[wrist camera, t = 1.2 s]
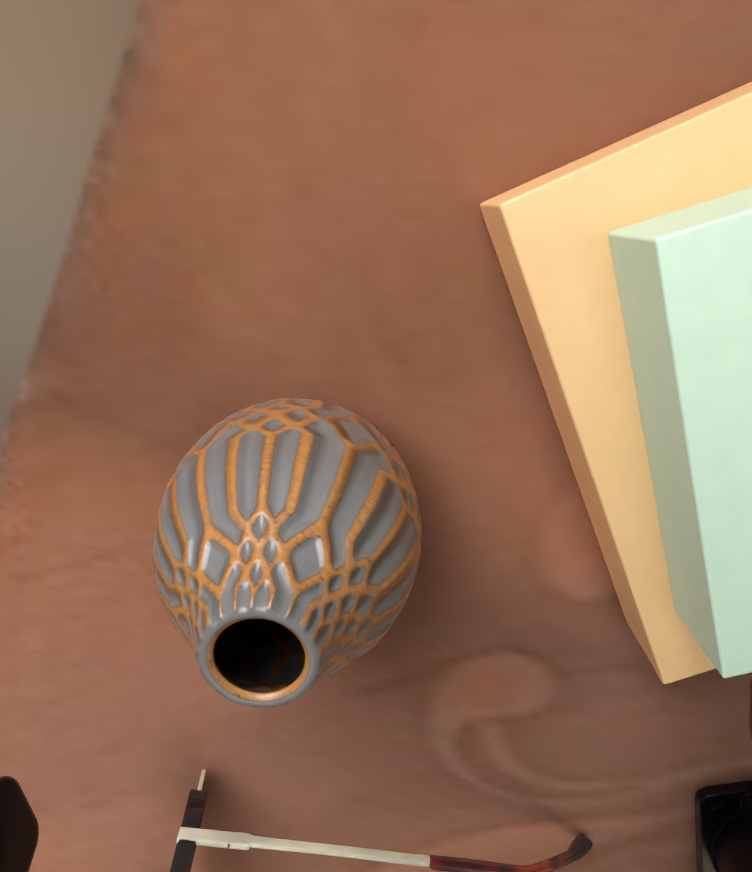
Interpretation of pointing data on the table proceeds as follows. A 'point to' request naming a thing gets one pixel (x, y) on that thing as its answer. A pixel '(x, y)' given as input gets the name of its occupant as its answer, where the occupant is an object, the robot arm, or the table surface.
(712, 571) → the box stack
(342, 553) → the vase
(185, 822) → the sunglasses
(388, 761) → the table surface
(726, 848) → the robot arm
